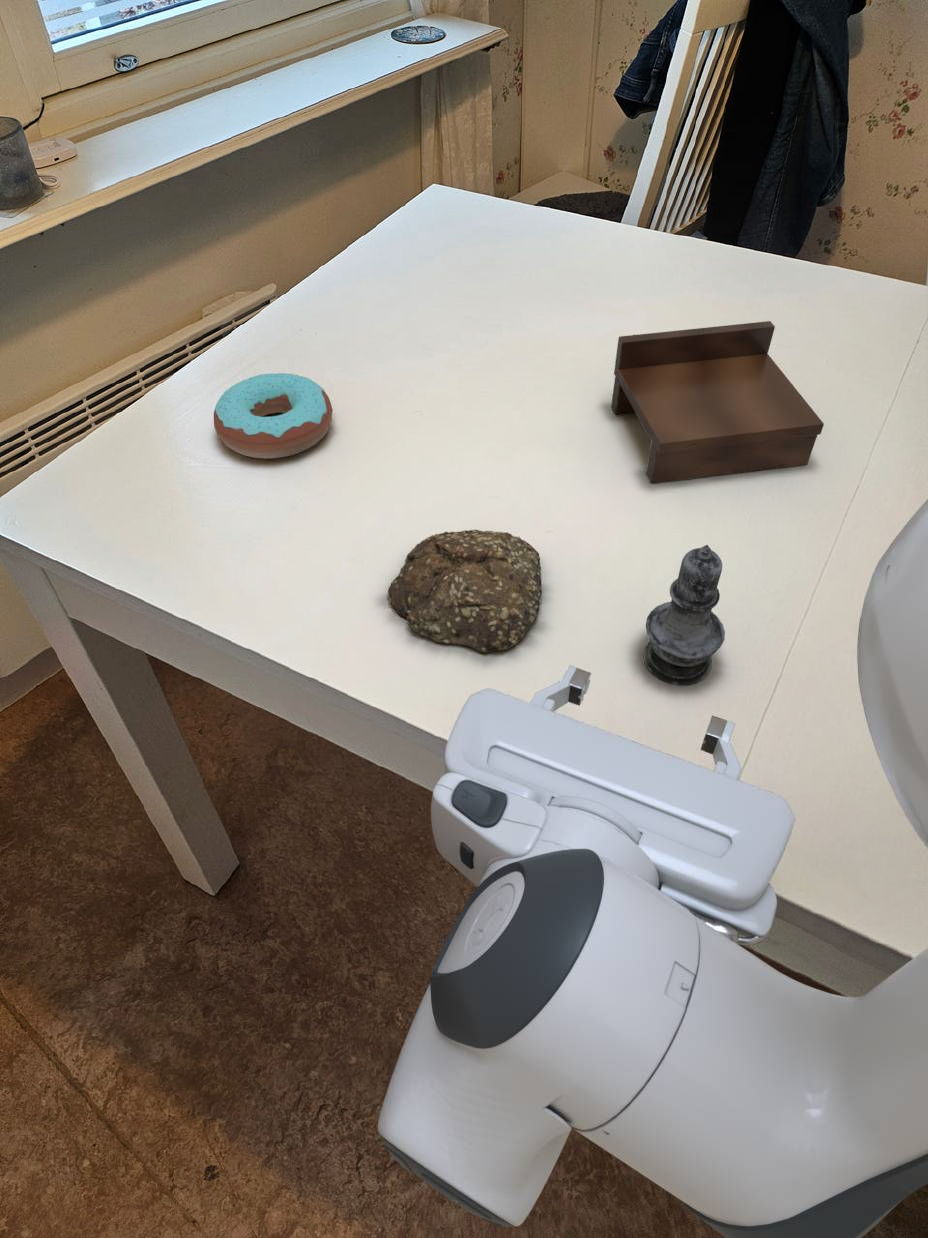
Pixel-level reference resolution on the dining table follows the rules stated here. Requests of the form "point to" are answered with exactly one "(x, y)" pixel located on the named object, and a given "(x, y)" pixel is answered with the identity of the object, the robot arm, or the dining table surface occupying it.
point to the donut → (275, 434)
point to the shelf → (712, 402)
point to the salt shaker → (687, 622)
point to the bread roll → (470, 589)
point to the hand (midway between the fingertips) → (649, 699)
